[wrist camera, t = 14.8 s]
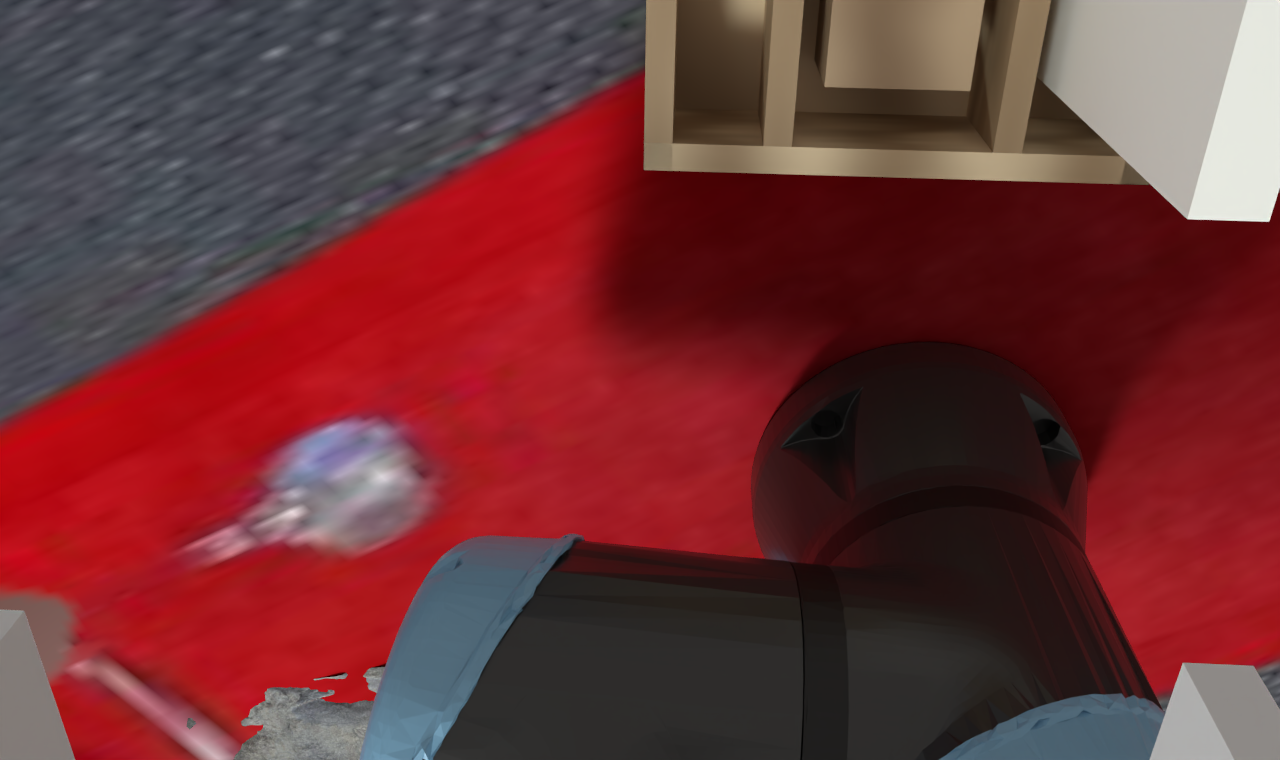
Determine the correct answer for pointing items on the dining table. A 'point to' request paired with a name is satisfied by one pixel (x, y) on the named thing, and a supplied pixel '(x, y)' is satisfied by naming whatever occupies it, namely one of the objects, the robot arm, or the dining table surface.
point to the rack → (854, 103)
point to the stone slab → (307, 724)
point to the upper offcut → (900, 44)
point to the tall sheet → (1177, 94)
